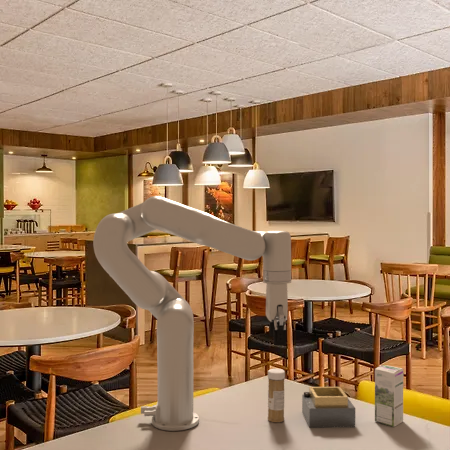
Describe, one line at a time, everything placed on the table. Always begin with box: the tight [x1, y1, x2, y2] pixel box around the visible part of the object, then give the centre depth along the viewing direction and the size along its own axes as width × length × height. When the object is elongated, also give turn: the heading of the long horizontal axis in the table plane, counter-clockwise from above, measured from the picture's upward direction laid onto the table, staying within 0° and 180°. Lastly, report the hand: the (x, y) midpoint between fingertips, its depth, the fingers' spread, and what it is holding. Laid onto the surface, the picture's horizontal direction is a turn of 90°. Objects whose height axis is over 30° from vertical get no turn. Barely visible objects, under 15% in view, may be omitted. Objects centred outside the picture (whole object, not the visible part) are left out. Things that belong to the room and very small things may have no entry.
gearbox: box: [301, 386, 356, 429], centre depth 148 cm, size 12×11×8 cm
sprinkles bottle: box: [267, 368, 286, 423], centre depth 148 cm, size 5×5×13 cm
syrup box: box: [374, 364, 404, 428], centre depth 146 cm, size 6×6×14 cm
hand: (277, 340), depth 147 cm, fingers open, 9 cm apart
